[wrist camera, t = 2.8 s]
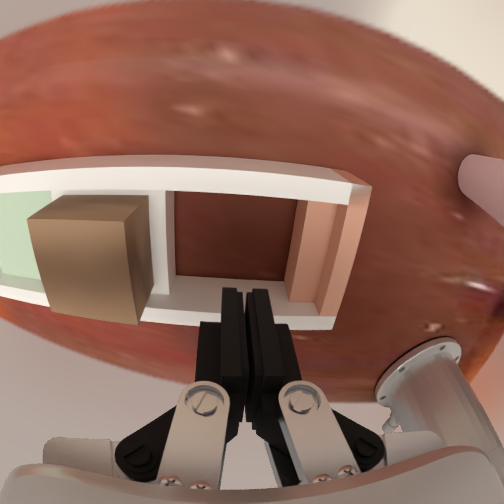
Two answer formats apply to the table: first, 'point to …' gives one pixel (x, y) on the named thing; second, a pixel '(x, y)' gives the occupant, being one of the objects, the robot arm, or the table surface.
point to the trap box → (163, 238)
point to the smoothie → (484, 183)
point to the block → (95, 255)
